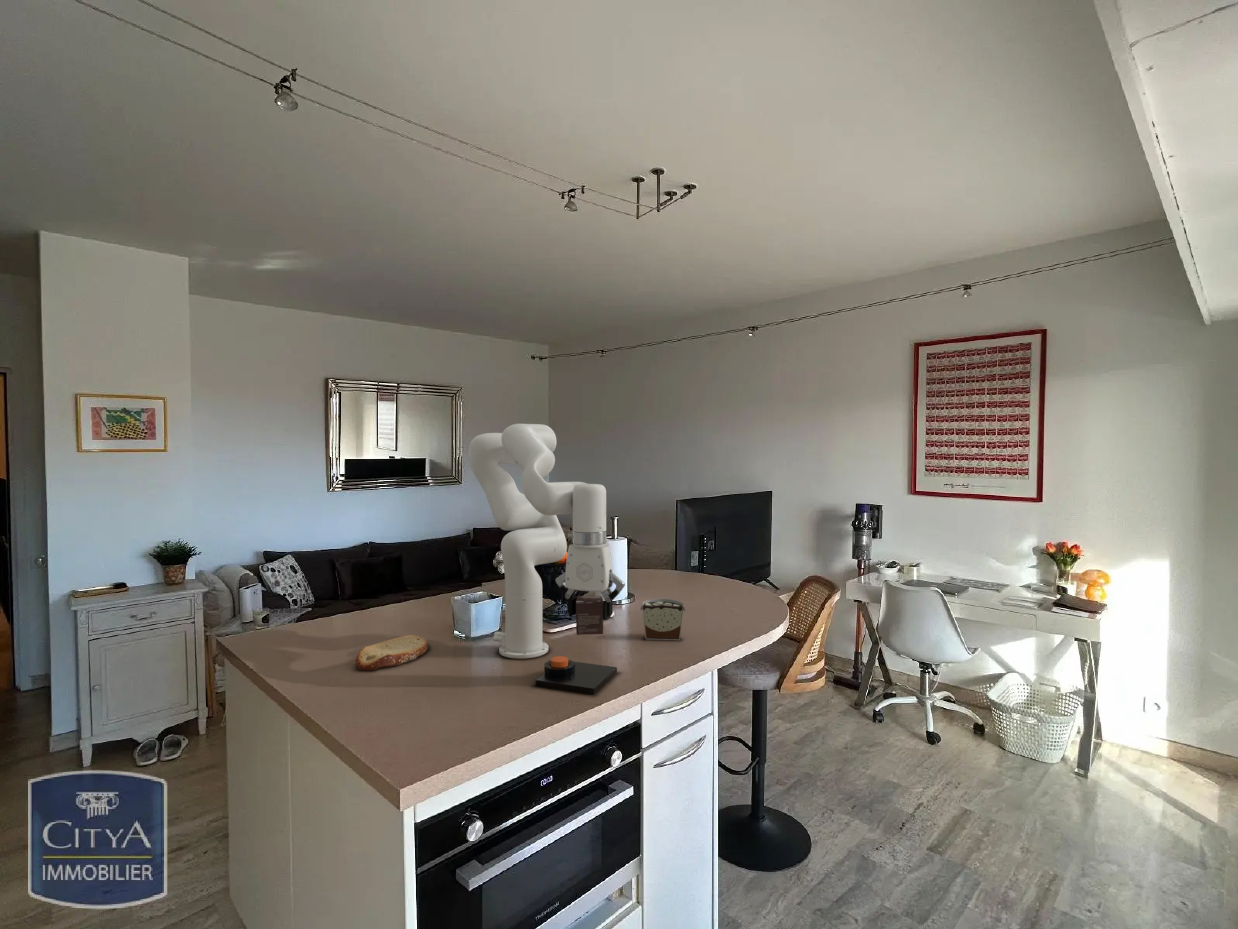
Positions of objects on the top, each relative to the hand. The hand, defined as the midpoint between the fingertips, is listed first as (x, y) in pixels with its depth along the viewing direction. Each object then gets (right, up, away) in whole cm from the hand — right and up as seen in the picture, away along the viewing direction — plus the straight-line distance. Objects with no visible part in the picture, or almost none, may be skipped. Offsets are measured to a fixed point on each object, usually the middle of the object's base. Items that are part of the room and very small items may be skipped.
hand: (589, 616), depth 140 cm
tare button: (-7, -12, +3) cm, 14 cm away
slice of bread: (-50, -14, +17) cm, 55 cm away
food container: (+19, -14, +34) cm, 41 cm away
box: (0, -4, 0) cm, 4 cm away
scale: (-3, -15, +1) cm, 15 cm away
